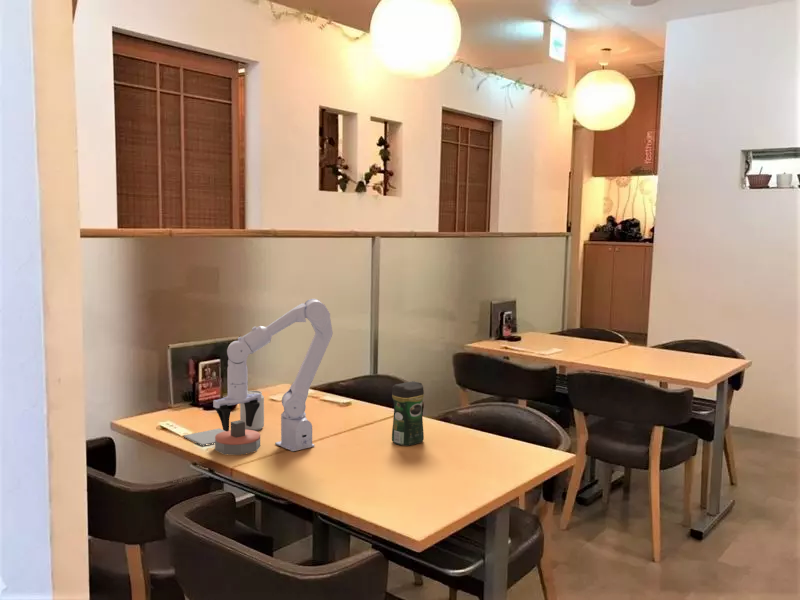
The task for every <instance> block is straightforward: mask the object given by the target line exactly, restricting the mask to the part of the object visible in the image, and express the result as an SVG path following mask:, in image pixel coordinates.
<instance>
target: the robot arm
mask: <svg viewBox="0 0 800 600" xmlns="http://www.w3.org/2000/svg"><path fill="white" fill-rule="evenodd" d="M307 320H308V321H309V323H310V324H311V326H312V328H313V330H314V331H313V332H314V335H313V338H312V340H311V341H310V342H311V343H310V345H309V347H308V350H307V351H306V354H305V356H304V359H303V360H302V362H301V363H302V364H301V365H300V368H299V370H298V372H297V374H296V377H295V378H294V380H293V382H292V384H291V385H290V387H289V389H288V390H287V391H286V392H285V393H284V394H283V396H282V398H281V404H282V406H283V412H282V413H281V414H280V416H281V417H280V422H281V423H280V431H281V432H280V433H281V434H280V435H281V436H280V438H281V439H280V441H276V442H275V446H278V447H279V446H280V447H281V448H283V449H286V450H289V451H291V452H296V451H297V452H298V451H299V450H304V449H308V448H309V449H310V448H312V447H313V448H314V447H316V445H315V444H314V443H313V425H312V423H311V421H310V420H308V419H307V416H306V415H307V413H306V412H305V411H306V409H307V407H306V406H307V405H306V402H307V399H308V396H309V391H310V388H311V386H312V383H313V380H314V378H315V376H316V374H317V371H318V369H319V367H320V365H321V362H322V360H323V358H324V355H325V354H326V351H327V348H328V346H329V343H330V342H331V339H332V338H333V334H334V331H333V327H332V321H331V320H332V319H331V313H330V311H329V309H328V308H327V307H326V305H325V304H324V302H321V301H320V300H319V299H317V298H310V299H308V300H306V301H305V302H302V303H300V304H298V305H296V306H294V307H293V308H291V309H290V310H288V311H287V312H285V313H284V314H283V315H281V316H280V317H278V318H277V319H275V320H274V321H273V322H271V323H270V324H268V325H266V326H262V325H259V326H253V327H252V328H251V331H249V332H248V333H246V334H244V335H242V336H239V337H237V340H234V341H232V342H230V344H229V345H227V346H228V347H227V349H226V354H227V357H228V360H227V370H226V371H227V396H226V397H223V398H219V399H213V401H212V402H213V403H212V404H213V406H212V407H213V408H214V409H215V412H216V413H217V414H218V415H217V416H218V417H219V419H220V422H221V425H222V426H221V427H222V430H224V431H229V430H230V417H231V411H232V409H231V408H229V406H235V405H238V404H239V405H240V404H241V403H244V405H245V411H246V425H247V426H249V427H252V423H253V419H254V416H255V414H256V411H257V409H258V408H259V406H260V403H259V402H257V401H261V394H258V393H256V394H248V391H249V390H248V389H249V388H248V385H249V384H248V381H249V380H248V377H249V375H248V366H247V363H248V362H247V360H248V357H249V355H253V354H254V353H256V352H257V351H259V350H261V349H263V348H264V347H265V346H267V345H268V344H270V343H271V341H272V338H273V336H274V335H277V334H278V333H279V332H281V331H283V330H285V329H286V328H288V327H290V326H291V325H293V324H295V323H307Z"/></svg>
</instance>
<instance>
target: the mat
mask: <svg viewBox="0 0 800 600" xmlns="http://www.w3.org/2000/svg"><path fill="white" fill-rule="evenodd" d="M221 432H224V430H223V428H219V427H218V428H215V429H209V430H204V431H199V432H195V433H190V434H185V435H183V438H184V437H185V439H186V438H187V440H188V439H189V440H188V441H190V440H191V441H190V442H192V441H193V443H195V442H196V443H195V444H197V443H199V444H201V445H206V444H212V443H215V436H216V435H217V434H218V433H221ZM199 444H198V445H199ZM201 445H200V446H201ZM212 445H213V444H212Z"/></svg>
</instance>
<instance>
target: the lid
mask: <svg viewBox="0 0 800 600" xmlns="http://www.w3.org/2000/svg"><path fill="white" fill-rule="evenodd" d="M259 439H260V440H261V434H260V432H258V430H257V431H254V430H247V429H245V422H243V421H240V420H235V421H230V429H229V431H224V432H221V433H218V434H217V435H216V436H215V440H216V441H217V442H218V443H221V444H227V445H241V444H248V443H252V442H255V441H257V440H259Z"/></svg>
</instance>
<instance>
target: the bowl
mask: <svg viewBox="0 0 800 600" xmlns="http://www.w3.org/2000/svg"><path fill="white" fill-rule="evenodd" d="M260 447H261V438H260V439H259V440H257V441H255V442H252V443H248V444H241V445H227V444H221V443H218V442H217V441H216V440H215V444H214V450H215V451H216V452H218V453H220V454H222V455H226V456H228V455H231V456H232V455H235V456H239V455H240V456H242V455H241V454H243V455H246V453H247V454H251V453H255V452H254V451H256V452H257V451H258V450H259V448H260ZM250 452H251V453H250ZM227 454H228V455H227Z"/></svg>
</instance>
